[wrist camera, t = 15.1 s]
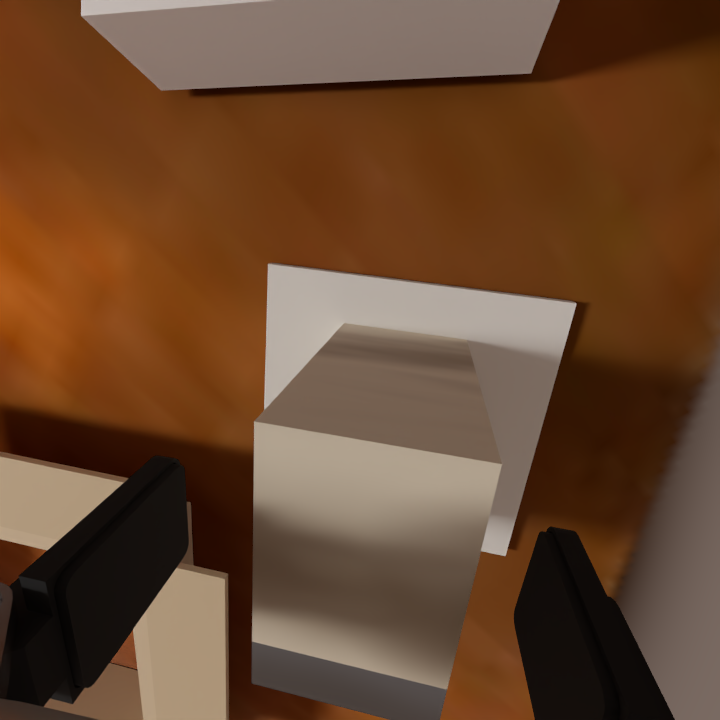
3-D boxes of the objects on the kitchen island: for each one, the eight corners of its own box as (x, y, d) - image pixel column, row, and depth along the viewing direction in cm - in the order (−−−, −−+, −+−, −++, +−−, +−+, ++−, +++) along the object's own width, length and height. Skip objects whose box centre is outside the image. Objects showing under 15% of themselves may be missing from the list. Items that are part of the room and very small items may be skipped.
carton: (-132, 376, 23) (-241, 405, 19) (263, 451, 20) (224, 503, 16) (-40, 664, 31) (-105, 724, 27) (254, 749, 28) (227, 830, 24)
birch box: (344, 322, 17) (254, 421, 8) (466, 339, 16) (502, 464, 8) (330, 485, 20) (251, 683, 11) (435, 505, 19) (436, 732, 10)
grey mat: (272, 262, 17) (268, 264, 17) (572, 301, 16) (576, 303, 15) (265, 499, 21) (261, 505, 21) (503, 548, 20) (505, 556, 19)
